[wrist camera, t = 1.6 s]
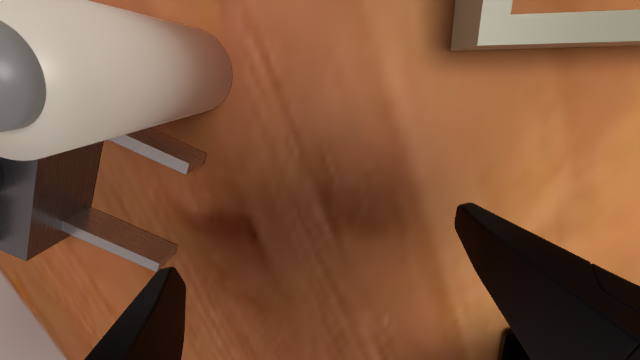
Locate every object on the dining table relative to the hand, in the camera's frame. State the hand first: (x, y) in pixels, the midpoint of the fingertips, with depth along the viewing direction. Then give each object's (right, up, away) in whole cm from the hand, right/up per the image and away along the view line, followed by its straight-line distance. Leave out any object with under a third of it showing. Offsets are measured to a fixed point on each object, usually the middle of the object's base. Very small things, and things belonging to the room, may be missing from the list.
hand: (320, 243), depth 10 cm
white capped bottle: (-8, +9, +11) cm, 16 cm away
